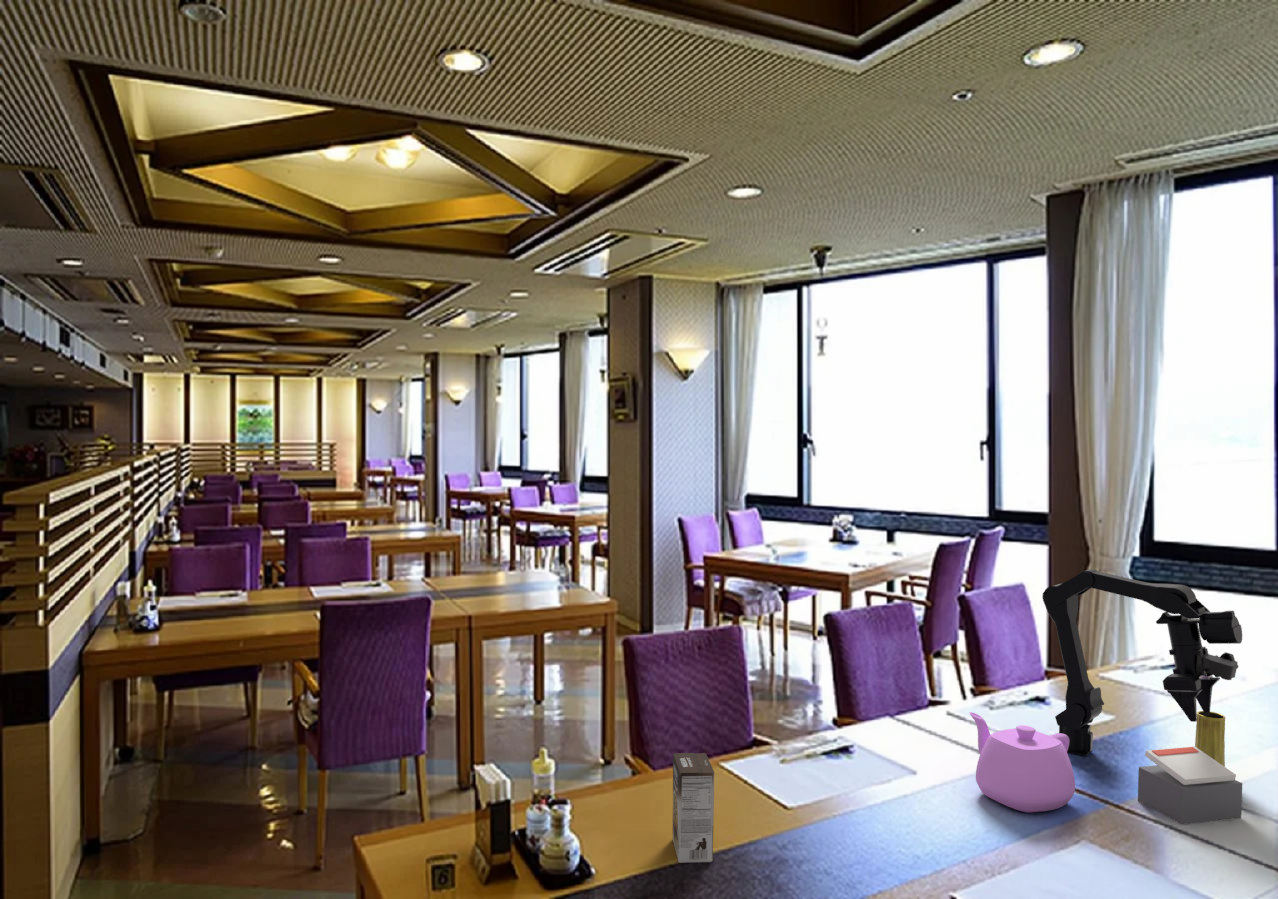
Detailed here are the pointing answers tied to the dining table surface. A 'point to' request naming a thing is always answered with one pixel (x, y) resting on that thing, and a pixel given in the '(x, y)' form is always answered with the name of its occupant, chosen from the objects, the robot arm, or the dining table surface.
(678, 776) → the coffee box
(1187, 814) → the switch box
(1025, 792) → the teapot
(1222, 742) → the vase
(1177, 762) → the rocker
